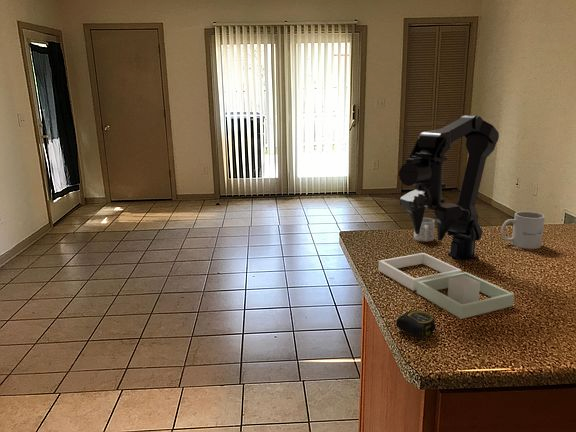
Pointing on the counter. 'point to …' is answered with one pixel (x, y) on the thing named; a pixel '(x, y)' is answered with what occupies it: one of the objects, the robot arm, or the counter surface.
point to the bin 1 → (392, 264)
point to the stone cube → (463, 289)
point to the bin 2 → (497, 302)
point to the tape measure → (416, 323)
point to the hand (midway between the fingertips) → (428, 235)
